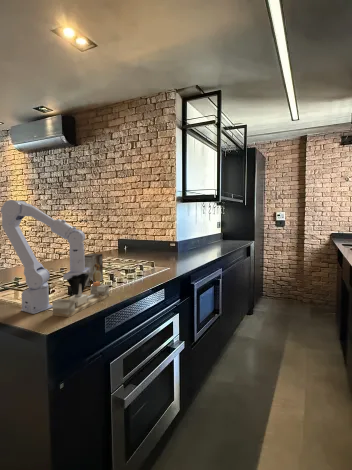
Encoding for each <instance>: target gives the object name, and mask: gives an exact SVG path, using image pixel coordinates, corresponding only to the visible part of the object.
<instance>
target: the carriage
mask: <svg viewBox="0 0 352 470" xmlns="http://www.w3.org/2000/svg"><path fill="white" fill-rule="evenodd" d="M87 296H88V294H85V293H84V294H83V292H82V284H81V283H79V292H78V295H75V294H73V295H72V296H70V297H68V300H74V301H75V303H76V306H80V305H82V304H84V303H86V302H87Z"/></svg>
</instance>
